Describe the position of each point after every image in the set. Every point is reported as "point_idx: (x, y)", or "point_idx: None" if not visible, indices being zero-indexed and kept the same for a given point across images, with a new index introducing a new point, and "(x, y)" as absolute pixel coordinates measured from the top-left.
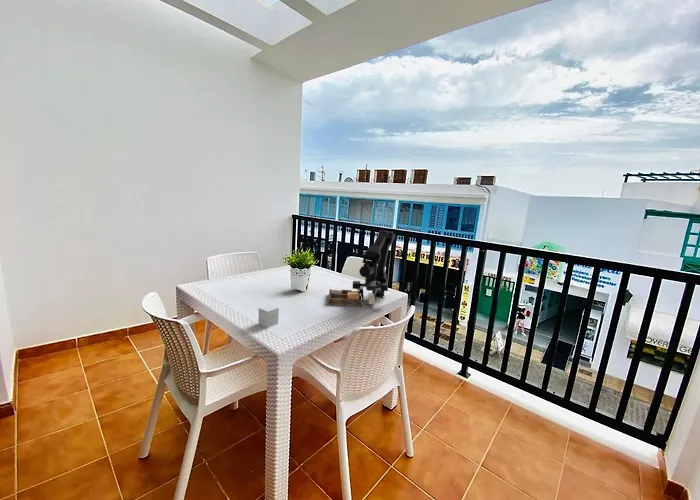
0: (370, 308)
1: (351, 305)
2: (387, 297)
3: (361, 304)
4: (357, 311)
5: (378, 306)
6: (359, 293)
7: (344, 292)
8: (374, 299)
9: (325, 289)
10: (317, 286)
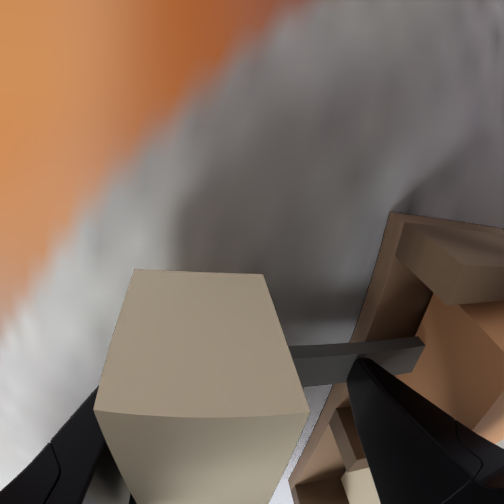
0: (243, 118)
1: (502, 229)
2: None
3: (418, 226)
4: (479, 23)
5: (63, 246)
6: (311, 499)
7: None
8: (119, 346)
9: None
10: None
